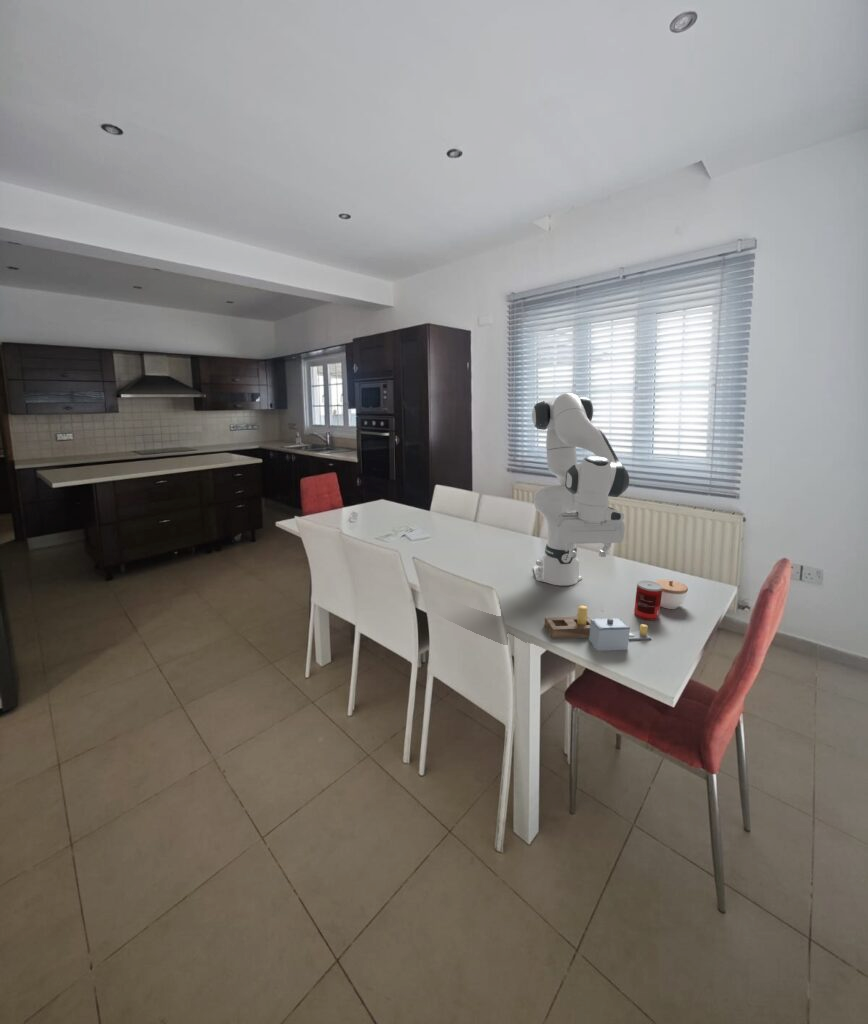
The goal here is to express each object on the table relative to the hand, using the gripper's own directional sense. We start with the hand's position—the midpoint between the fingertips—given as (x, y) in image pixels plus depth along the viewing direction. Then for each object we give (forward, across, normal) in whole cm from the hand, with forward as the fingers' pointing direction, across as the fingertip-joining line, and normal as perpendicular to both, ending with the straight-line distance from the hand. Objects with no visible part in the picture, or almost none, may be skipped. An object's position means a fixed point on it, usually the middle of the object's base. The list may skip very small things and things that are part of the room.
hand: (587, 556), depth 138 cm
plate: (+24, +16, -6) cm, 29 cm away
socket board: (+24, -3, -1) cm, 25 cm away
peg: (+24, 0, -1) cm, 25 cm away
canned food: (+25, +27, +8) cm, 37 cm away
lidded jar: (+25, +39, +15) cm, 48 cm away
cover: (+24, +5, -10) cm, 26 cm away
